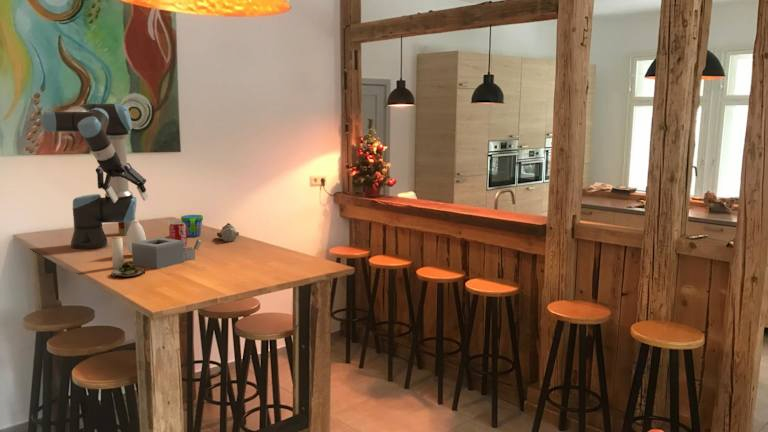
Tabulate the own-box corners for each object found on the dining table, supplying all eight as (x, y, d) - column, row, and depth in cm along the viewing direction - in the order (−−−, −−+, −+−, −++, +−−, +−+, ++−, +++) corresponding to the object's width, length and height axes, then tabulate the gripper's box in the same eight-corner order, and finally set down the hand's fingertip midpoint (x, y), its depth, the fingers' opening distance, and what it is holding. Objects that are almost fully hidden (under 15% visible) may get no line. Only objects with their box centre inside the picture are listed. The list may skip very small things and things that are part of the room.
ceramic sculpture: (218, 225, 287) (216, 221, 301) (218, 243, 288) (216, 239, 302) (240, 224, 290) (237, 221, 305) (241, 242, 291) (238, 238, 305)
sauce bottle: (142, 252, 266) (140, 212, 264) (149, 255, 261) (147, 214, 258) (124, 255, 261) (121, 214, 258) (131, 258, 256) (129, 216, 253)
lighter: (185, 260, 253) (185, 241, 252) (184, 259, 255) (183, 241, 254) (202, 258, 258) (201, 239, 256) (200, 257, 259) (200, 239, 258)
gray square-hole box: (132, 264, 245) (131, 242, 243) (160, 257, 257) (159, 237, 256) (157, 269, 238) (156, 246, 237) (184, 262, 251) (183, 240, 249)
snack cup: (183, 233, 311) (182, 213, 310) (204, 232, 314) (204, 213, 312) (180, 239, 296) (179, 218, 295) (202, 238, 298) (201, 218, 297)
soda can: (181, 253, 266) (180, 224, 264) (166, 252, 267) (165, 223, 265) (190, 250, 273) (189, 221, 270) (175, 249, 274) (174, 221, 272)
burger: (111, 280, 222) (110, 261, 221) (111, 273, 232) (110, 254, 231) (146, 277, 227) (145, 258, 225) (144, 270, 237) (143, 251, 236)
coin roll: (110, 267, 239) (108, 237, 237) (119, 265, 243) (117, 236, 241) (117, 269, 238) (115, 238, 236) (126, 267, 241) (124, 237, 239)
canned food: (130, 231, 312) (128, 209, 311) (138, 233, 308) (137, 210, 306) (115, 234, 306) (114, 210, 304) (124, 236, 302) (123, 212, 300)
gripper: (72, 164, 229) (99, 207, 242) (130, 158, 224) (154, 203, 237) (82, 153, 235) (108, 195, 248) (139, 147, 230) (162, 191, 243)
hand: (130, 199), depth 243 cm, fingers open, 13 cm apart
